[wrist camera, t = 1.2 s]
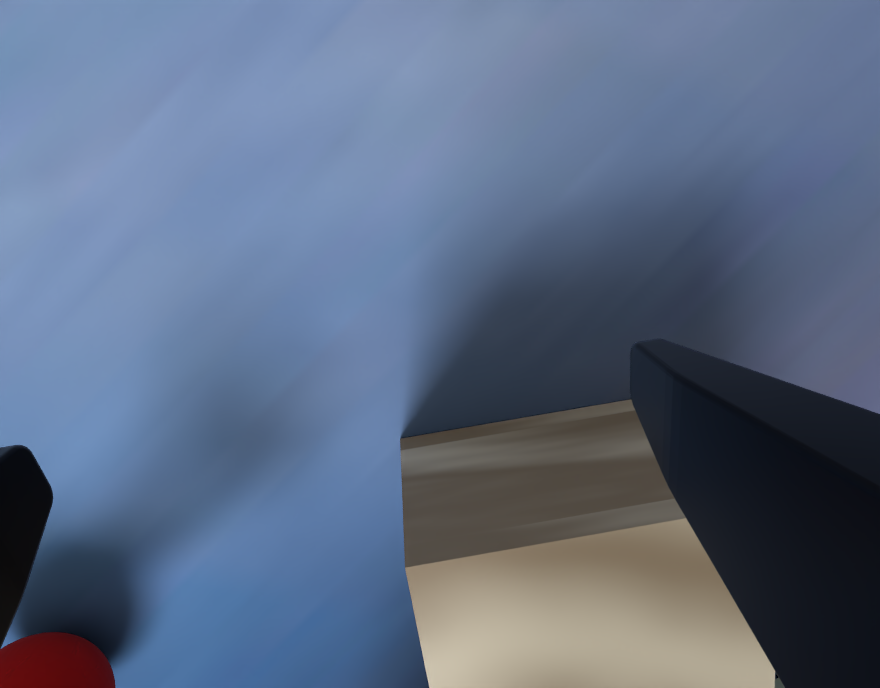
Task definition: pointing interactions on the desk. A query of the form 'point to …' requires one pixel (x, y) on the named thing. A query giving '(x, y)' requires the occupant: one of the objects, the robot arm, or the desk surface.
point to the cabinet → (563, 562)
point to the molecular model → (54, 663)
